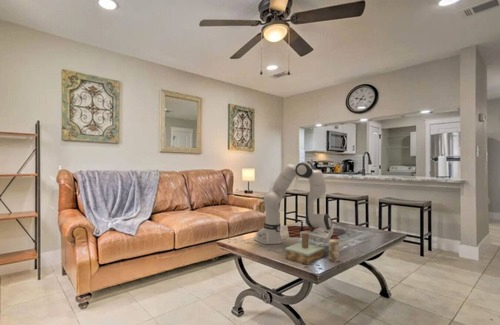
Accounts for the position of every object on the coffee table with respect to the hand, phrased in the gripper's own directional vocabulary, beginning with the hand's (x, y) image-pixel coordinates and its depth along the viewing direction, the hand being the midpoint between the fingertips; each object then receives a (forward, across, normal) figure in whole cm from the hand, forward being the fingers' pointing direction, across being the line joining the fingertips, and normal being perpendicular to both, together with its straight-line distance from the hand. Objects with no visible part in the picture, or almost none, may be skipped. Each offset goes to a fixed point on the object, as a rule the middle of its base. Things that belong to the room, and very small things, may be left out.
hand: (308, 238), depth 178 cm
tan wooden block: (-4, +16, +11) cm, 20 cm away
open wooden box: (+4, 0, +11) cm, 12 cm away
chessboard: (-56, -30, +12) cm, 64 cm away
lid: (+4, 0, +6) cm, 7 cm away
